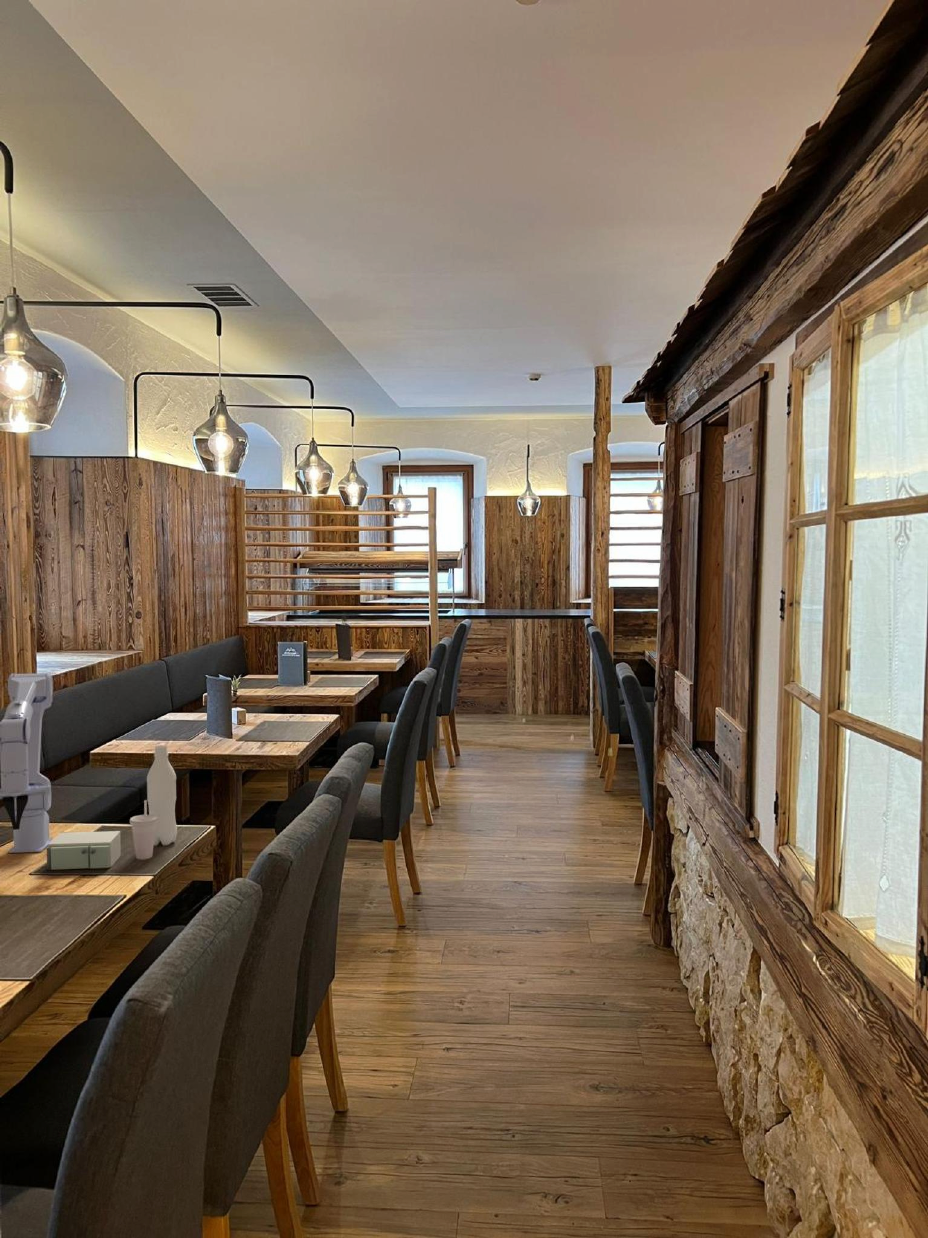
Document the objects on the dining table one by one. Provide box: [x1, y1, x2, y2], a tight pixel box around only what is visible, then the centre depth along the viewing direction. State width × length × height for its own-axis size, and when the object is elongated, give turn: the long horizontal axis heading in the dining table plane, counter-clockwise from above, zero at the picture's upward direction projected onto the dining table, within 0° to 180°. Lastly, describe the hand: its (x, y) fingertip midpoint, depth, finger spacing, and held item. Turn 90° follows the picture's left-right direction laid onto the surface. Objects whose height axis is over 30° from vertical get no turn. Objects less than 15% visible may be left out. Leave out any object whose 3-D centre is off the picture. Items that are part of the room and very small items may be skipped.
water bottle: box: [146, 744, 178, 846], centre depth 230 cm, size 7×7×25 cm
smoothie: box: [129, 799, 158, 860], centre depth 220 cm, size 6×6×14 cm
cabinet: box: [47, 830, 122, 869], centre depth 215 cm, size 11×14×6 cm
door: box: [46, 845, 90, 871], centre depth 210 cm, size 2×9×5 cm, turn 98°
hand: (16, 828), depth 209 cm, fingers closed
